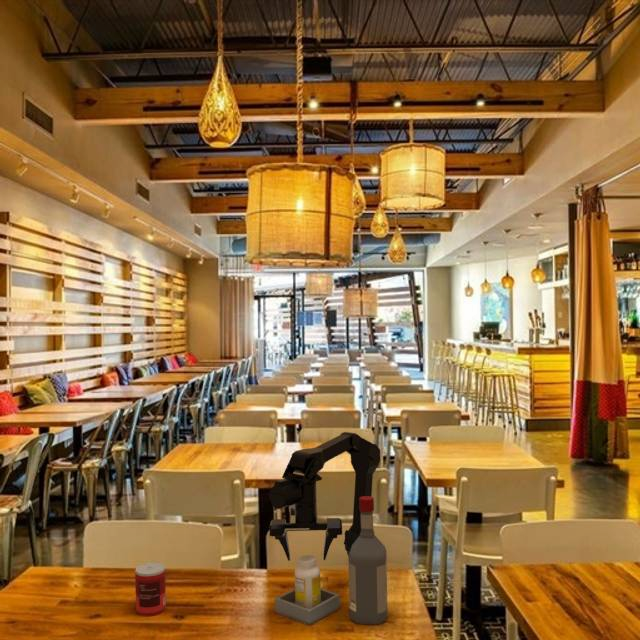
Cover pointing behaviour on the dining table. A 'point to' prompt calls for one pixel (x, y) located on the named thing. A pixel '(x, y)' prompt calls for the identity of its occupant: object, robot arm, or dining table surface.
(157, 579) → the canned food
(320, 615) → the tray
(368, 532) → the liquor
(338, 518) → the robot arm
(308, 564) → the supplement bottle
